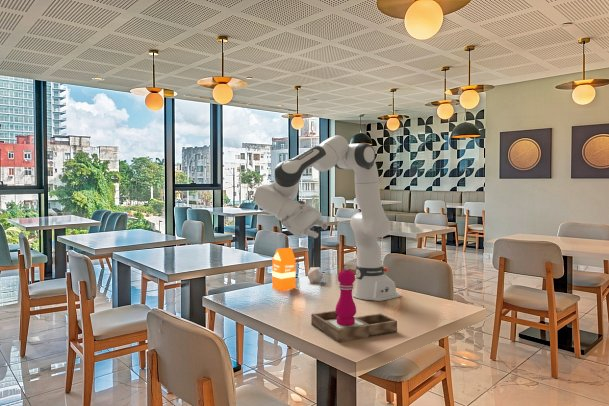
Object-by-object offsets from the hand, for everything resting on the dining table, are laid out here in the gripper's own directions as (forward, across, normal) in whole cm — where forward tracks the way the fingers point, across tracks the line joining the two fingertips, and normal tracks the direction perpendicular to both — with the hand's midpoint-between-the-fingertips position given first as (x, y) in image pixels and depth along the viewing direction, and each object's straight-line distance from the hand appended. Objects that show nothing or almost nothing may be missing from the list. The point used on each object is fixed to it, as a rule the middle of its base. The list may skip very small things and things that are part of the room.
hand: (322, 231), depth 163 cm
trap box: (+27, -7, +24) cm, 37 cm away
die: (-1, +52, +55) cm, 76 cm away
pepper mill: (+24, -14, +19) cm, 34 cm away
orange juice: (-11, +34, +56) cm, 67 cm away
